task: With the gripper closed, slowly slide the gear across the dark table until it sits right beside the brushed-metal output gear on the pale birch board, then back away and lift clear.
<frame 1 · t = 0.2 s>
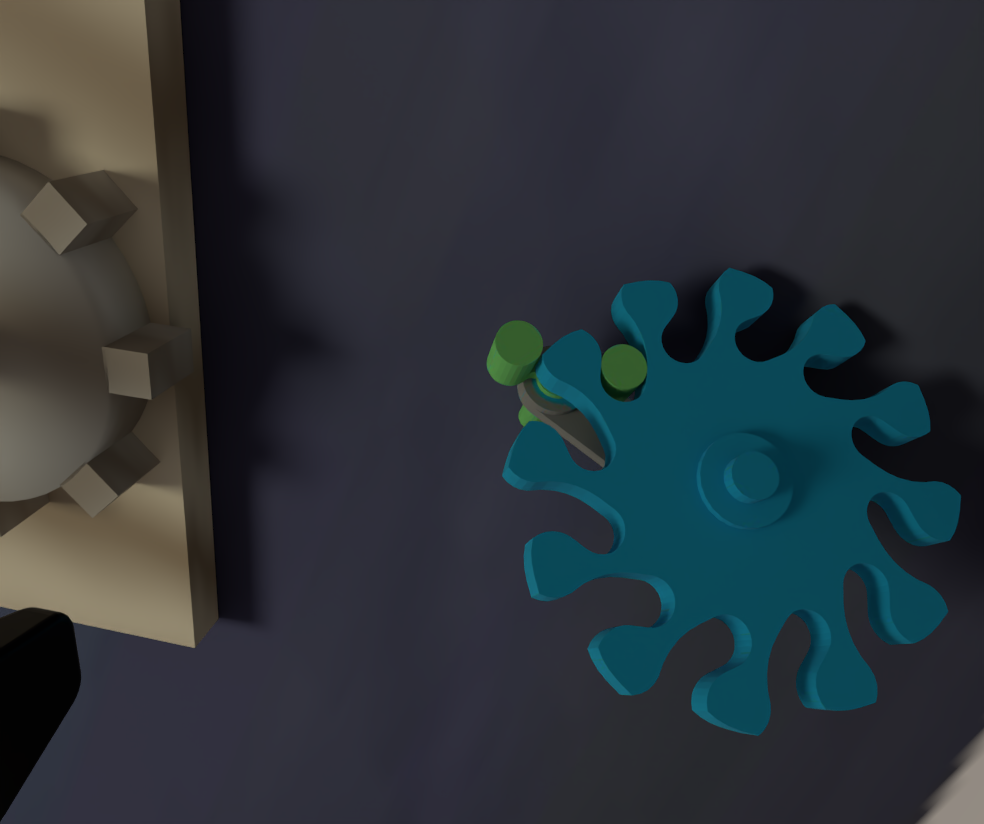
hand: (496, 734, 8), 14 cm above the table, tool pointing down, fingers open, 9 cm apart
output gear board: (39, 305, 24), on the table
gear: (706, 404, 22), on the table
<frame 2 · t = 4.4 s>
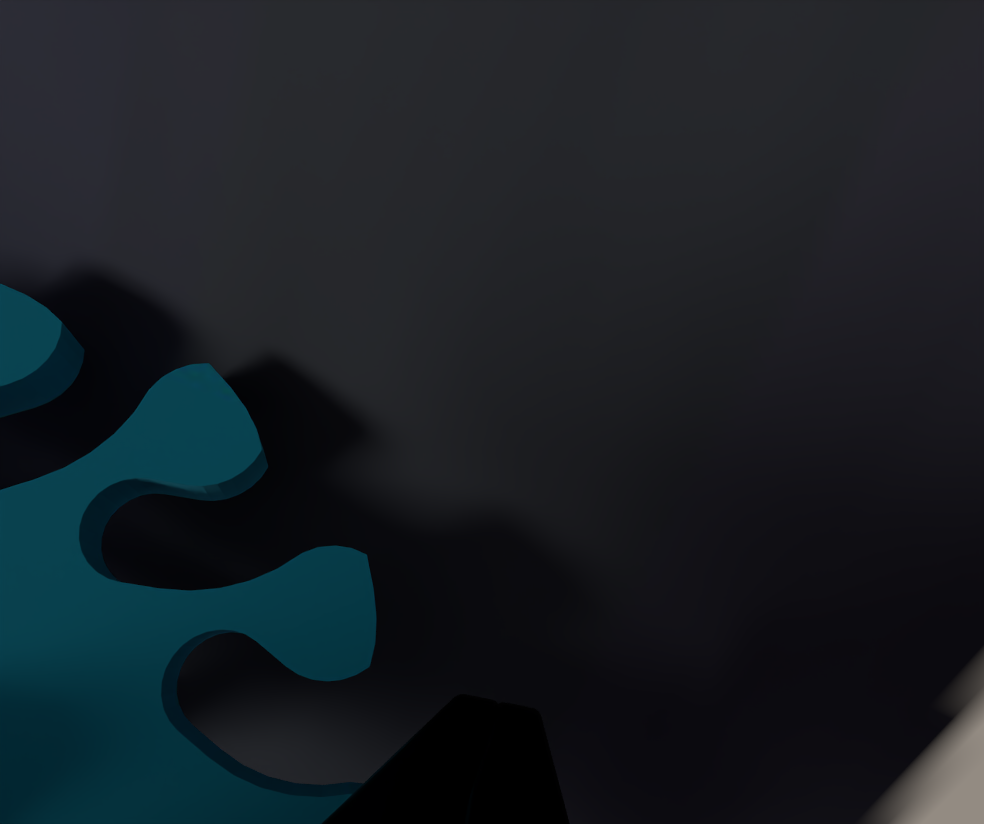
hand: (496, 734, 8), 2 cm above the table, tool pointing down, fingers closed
gear: (80, 536, 11), on the table, touching gripper
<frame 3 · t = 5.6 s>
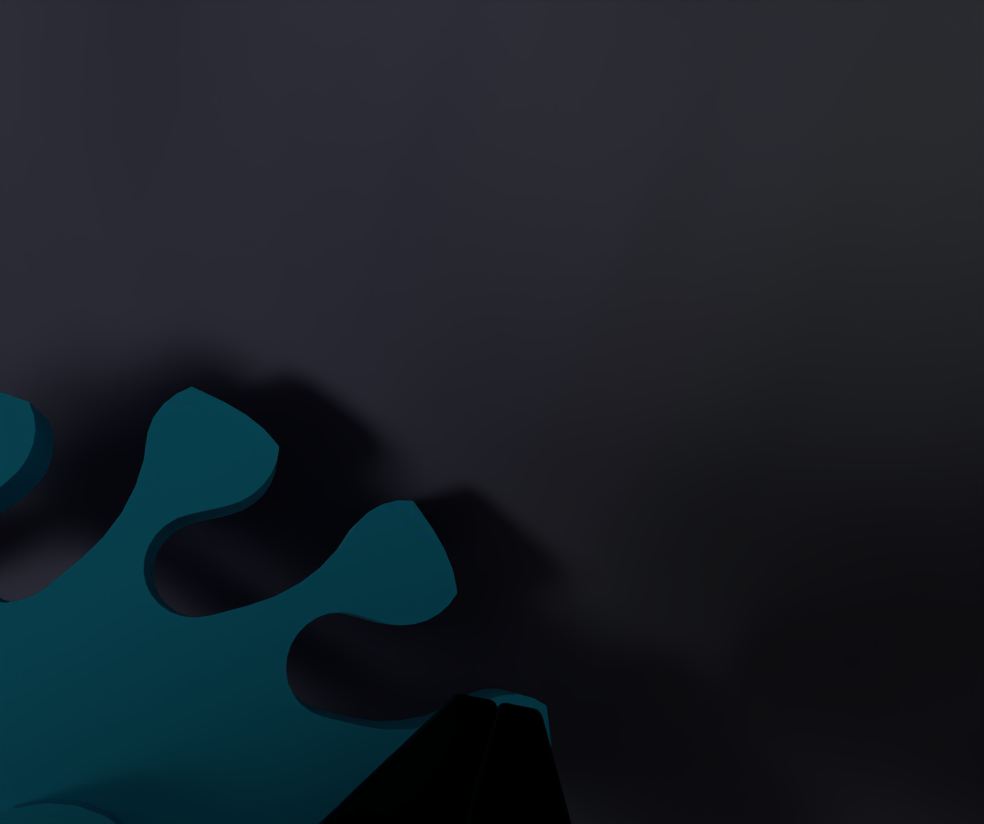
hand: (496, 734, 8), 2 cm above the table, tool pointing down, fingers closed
gear: (214, 613, 11), on the table, touching gripper
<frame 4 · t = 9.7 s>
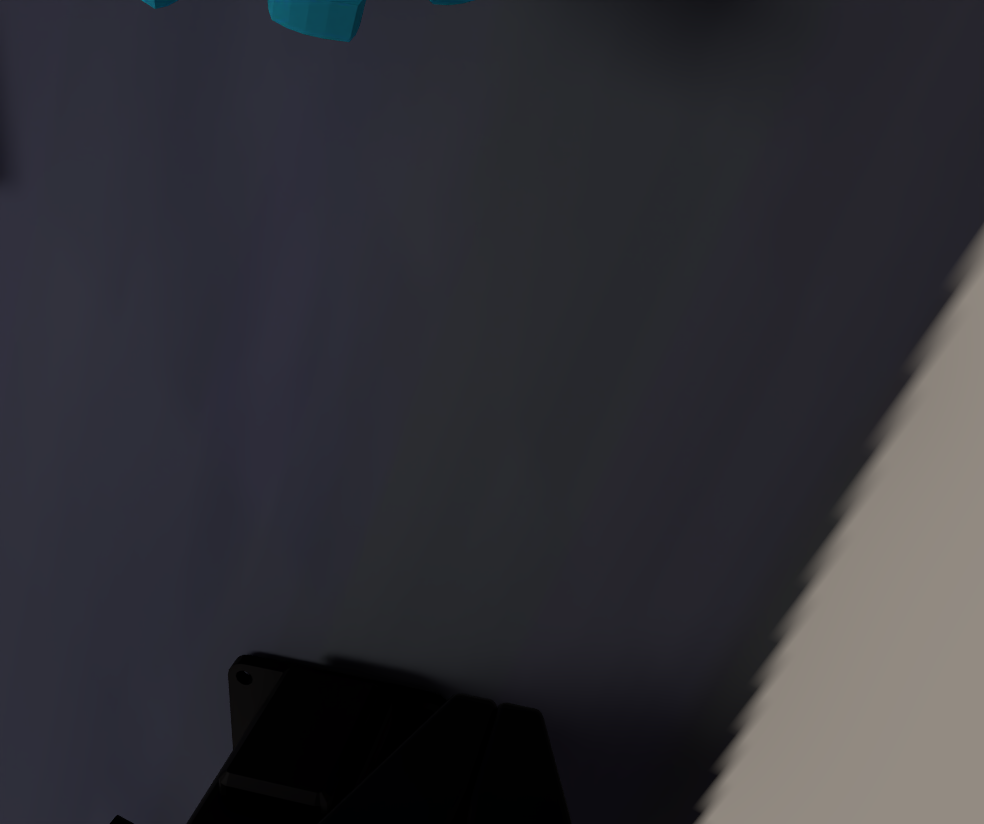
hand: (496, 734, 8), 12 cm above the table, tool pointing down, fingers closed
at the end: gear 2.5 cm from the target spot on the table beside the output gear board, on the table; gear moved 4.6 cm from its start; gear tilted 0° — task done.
